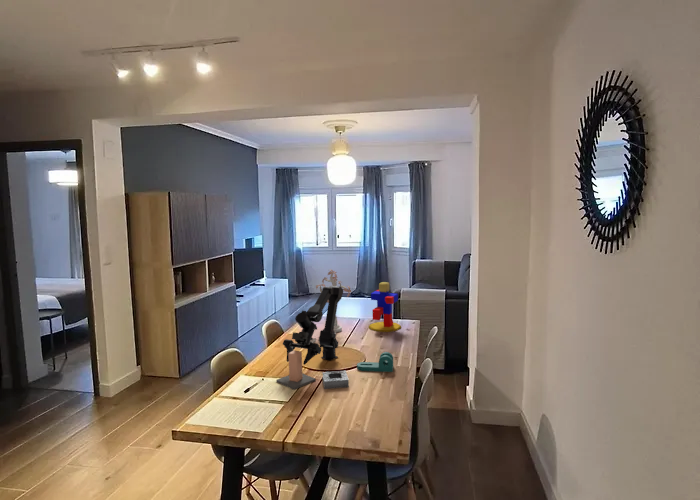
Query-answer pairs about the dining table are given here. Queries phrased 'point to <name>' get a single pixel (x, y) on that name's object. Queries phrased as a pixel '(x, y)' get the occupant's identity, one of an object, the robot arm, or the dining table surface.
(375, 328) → the figurine
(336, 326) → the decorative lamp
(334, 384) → the socket block
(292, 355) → the peg
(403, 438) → the dining table surface
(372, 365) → the bracket
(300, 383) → the mat
